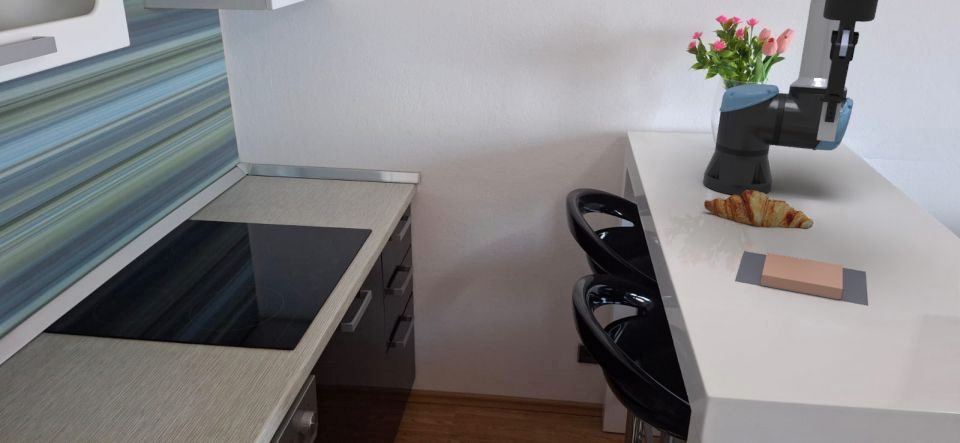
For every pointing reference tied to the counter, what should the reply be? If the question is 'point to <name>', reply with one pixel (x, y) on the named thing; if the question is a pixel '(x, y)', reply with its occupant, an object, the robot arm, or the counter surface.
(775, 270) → the block
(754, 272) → the mat
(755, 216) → the croissant
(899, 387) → the counter surface
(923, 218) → the counter surface
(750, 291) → the counter surface
